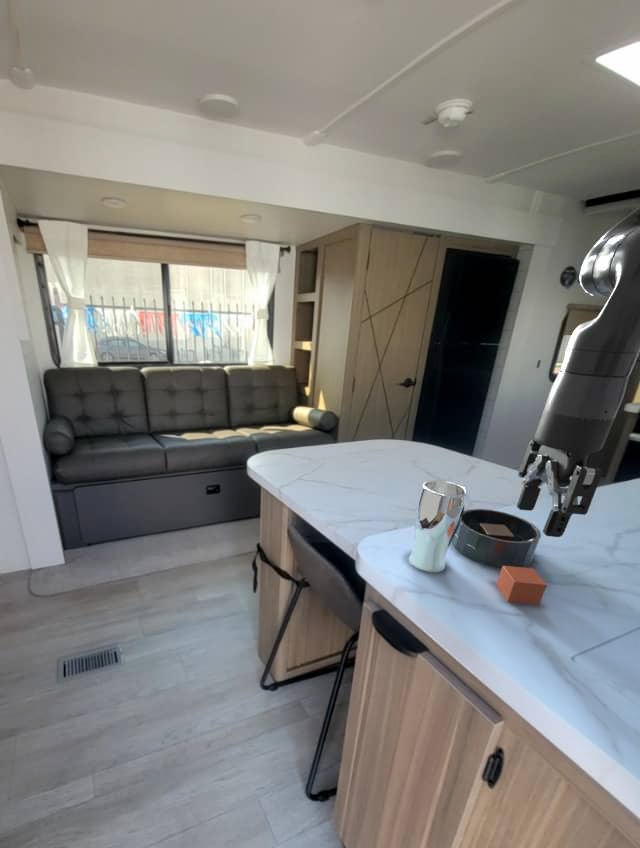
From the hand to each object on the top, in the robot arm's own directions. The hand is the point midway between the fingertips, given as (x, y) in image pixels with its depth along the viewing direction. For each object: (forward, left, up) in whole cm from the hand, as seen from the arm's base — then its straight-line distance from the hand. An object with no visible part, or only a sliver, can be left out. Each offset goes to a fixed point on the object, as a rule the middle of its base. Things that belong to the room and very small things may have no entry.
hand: (537, 521), depth 59 cm
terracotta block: (0, +1, -13) cm, 13 cm away
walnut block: (-1, -13, -12) cm, 18 cm away
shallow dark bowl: (-1, -13, -13) cm, 18 cm away
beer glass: (+12, -6, -13) cm, 19 cm away
